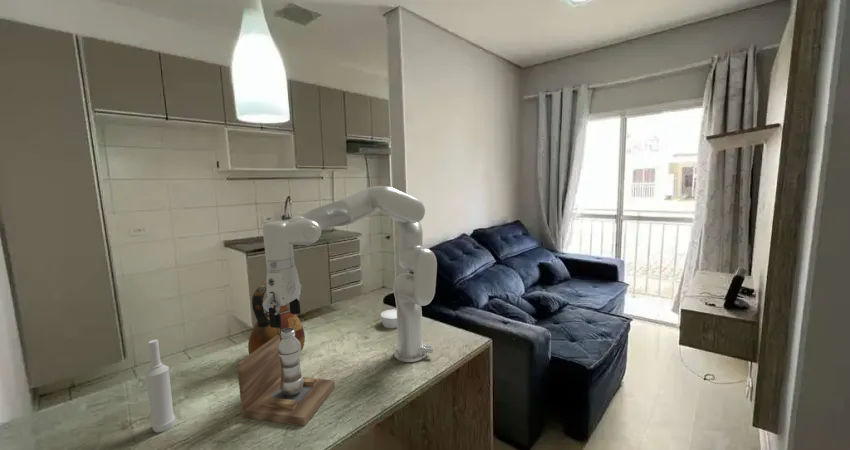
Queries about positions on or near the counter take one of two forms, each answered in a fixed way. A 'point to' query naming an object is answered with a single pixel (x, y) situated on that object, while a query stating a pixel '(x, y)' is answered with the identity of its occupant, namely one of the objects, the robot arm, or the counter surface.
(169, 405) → the bottle
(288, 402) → the display stand
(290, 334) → the plastic bottle
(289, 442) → the counter surface
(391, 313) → the ramekin
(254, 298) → the ceramic pitcher
